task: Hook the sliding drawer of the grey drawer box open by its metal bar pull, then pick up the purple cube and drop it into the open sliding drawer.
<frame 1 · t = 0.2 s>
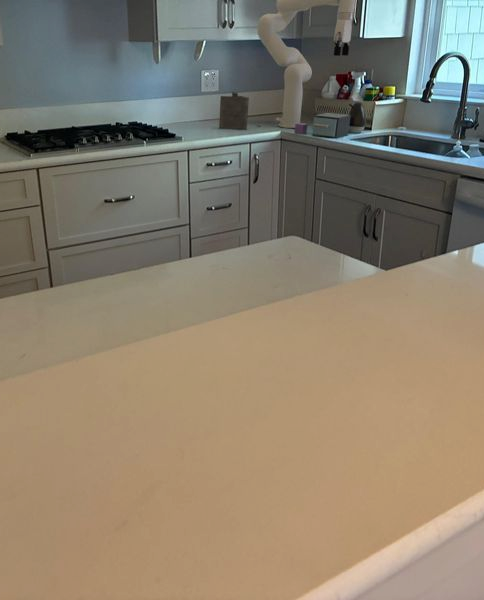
hand: (340, 55, 301), 37 cm above the worktop, tool pointing down, fingers open, 9 cm apart
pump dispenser: (353, 132, 317), on the worktop
flask: (233, 129, 317), on the worktop
grey drawer box: (330, 135, 306), on the worktop
sliding drawer: (327, 126, 300), point 5 cm above the worktop, slide at 0.5 cm
purple cube: (300, 133, 309), on the worktop
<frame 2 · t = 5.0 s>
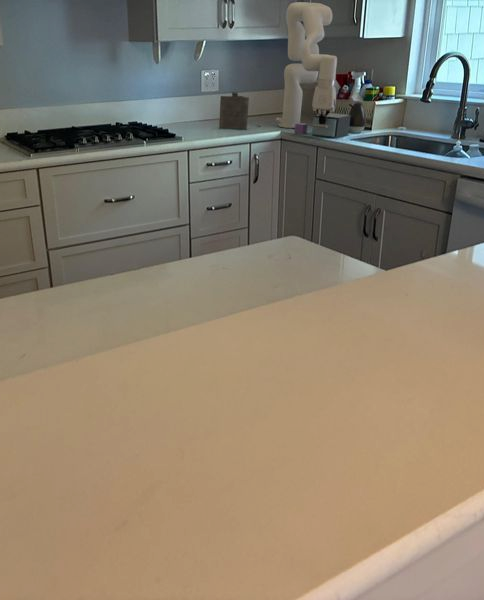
hand: (322, 124, 294), 6 cm above the worktop, tool pointing down, fingers closed
sliding drawer: (327, 126, 300), point 5 cm above the worktop, slide at 0.9 cm, touching gripper
everything else where it was.
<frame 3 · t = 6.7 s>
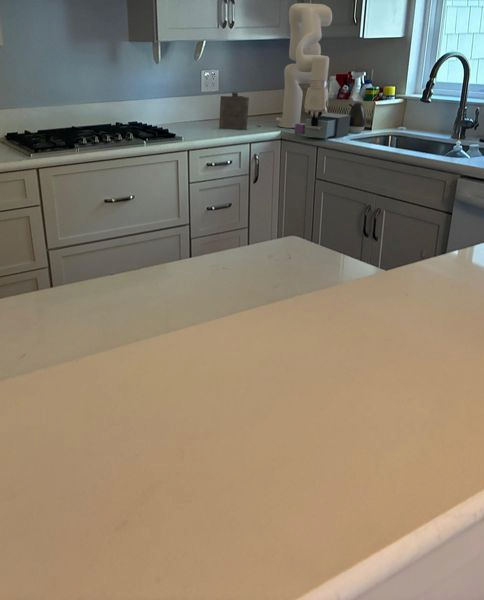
hand: (314, 126, 288), 6 cm above the worktop, tool pointing down, fingers closed
sliding drawer: (319, 128, 294), point 5 cm above the worktop, slide at 9.4 cm, touching gripper
everything else where it was.
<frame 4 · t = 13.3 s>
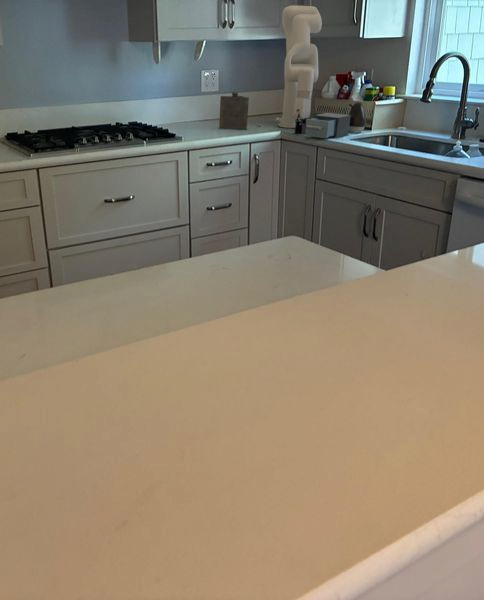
hand: (300, 132, 309), 0 cm above the worktop, tool pointing down, fingers closed on purple cube, 4 cm apart
sliding drawer: (320, 127, 294), point 5 cm above the worktop, slide at 8.4 cm
purple cube: (300, 133, 309), on the worktop, touching gripper
everything else where it was.
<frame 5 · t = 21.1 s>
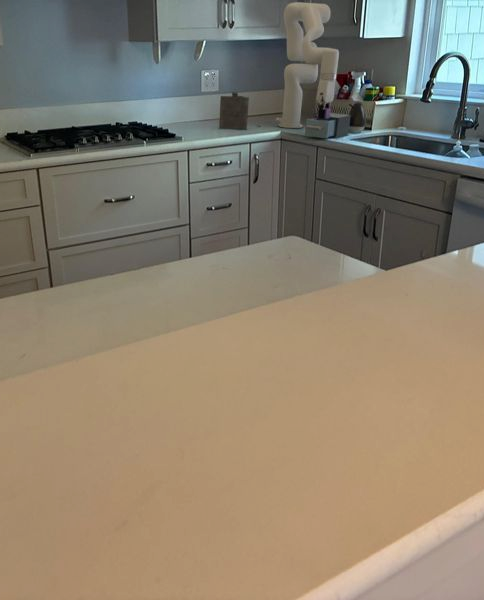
hand: (323, 117, 294), 9 cm above the worktop, tool pointing down, fingers closed on purple cube, 4 cm apart
purple cube: (323, 118, 294), point 9 cm above the worktop, touching gripper
everything else where it was.
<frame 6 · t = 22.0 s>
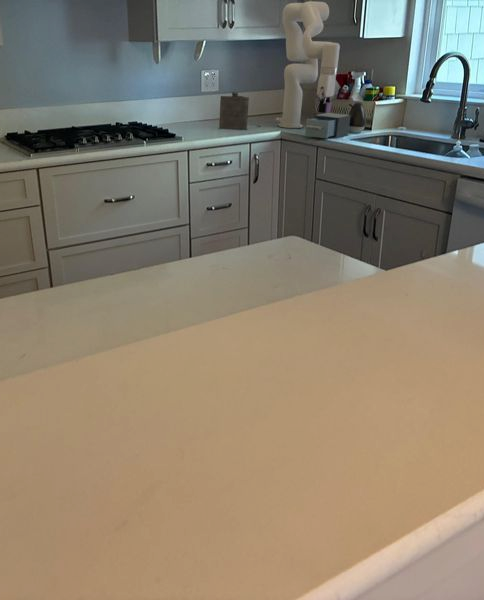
hand: (324, 111, 293), 12 cm above the worktop, tool pointing down, fingers closed on purple cube, 4 cm apart
purple cube: (324, 112, 293), point 12 cm above the worktop, touching gripper
everything else where it was.
when the fingers open (12 cm above the worktop, at t = 31.0 s): purple cube drops 10 cm, resting on sliding drawer.
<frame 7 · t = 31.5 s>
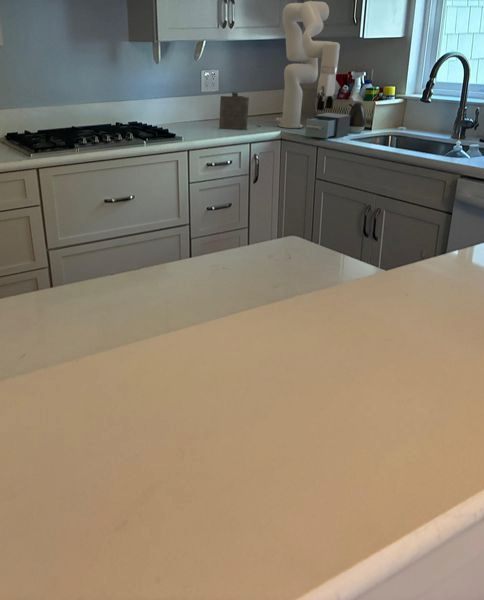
hand: (324, 109, 293), 13 cm above the worktop, tool pointing down, fingers open, 9 cm apart
sliding drawer: (320, 127, 294), point 5 cm above the worktop, slide at 8.4 cm, touching purple cube
purple cube: (321, 133, 297), point 2 cm above the worktop, touching sliding drawer
everything else where it was.
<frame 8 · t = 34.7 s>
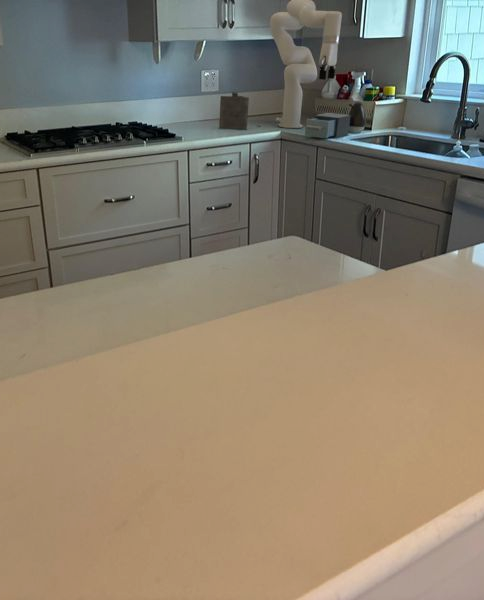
hand: (326, 78, 295), 26 cm above the worktop, tool pointing down, fingers open, 9 cm apart
nothing on the worktop moved.
at the end: sliding drawer slide at 8.4 cm; purple cube inside the target area in the sliding drawer (5.0 cm from its centre), point 2.0 cm above the grey drawer box's base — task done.
